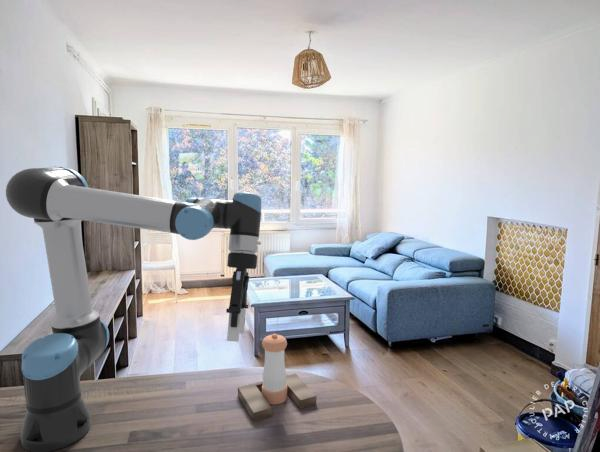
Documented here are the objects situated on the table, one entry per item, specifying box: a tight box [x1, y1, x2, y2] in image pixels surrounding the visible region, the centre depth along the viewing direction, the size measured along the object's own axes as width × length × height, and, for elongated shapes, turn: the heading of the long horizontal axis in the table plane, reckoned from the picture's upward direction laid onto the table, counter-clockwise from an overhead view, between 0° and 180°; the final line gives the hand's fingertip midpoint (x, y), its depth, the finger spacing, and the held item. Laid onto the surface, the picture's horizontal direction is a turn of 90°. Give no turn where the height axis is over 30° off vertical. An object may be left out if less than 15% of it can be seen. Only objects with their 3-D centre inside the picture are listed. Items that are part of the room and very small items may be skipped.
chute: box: [237, 373, 317, 422], centre depth 120 cm, size 13×18×2 cm
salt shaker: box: [261, 333, 288, 406], centre depth 119 cm, size 7×7×19 cm
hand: (235, 337), depth 107 cm, fingers open, 13 cm apart
